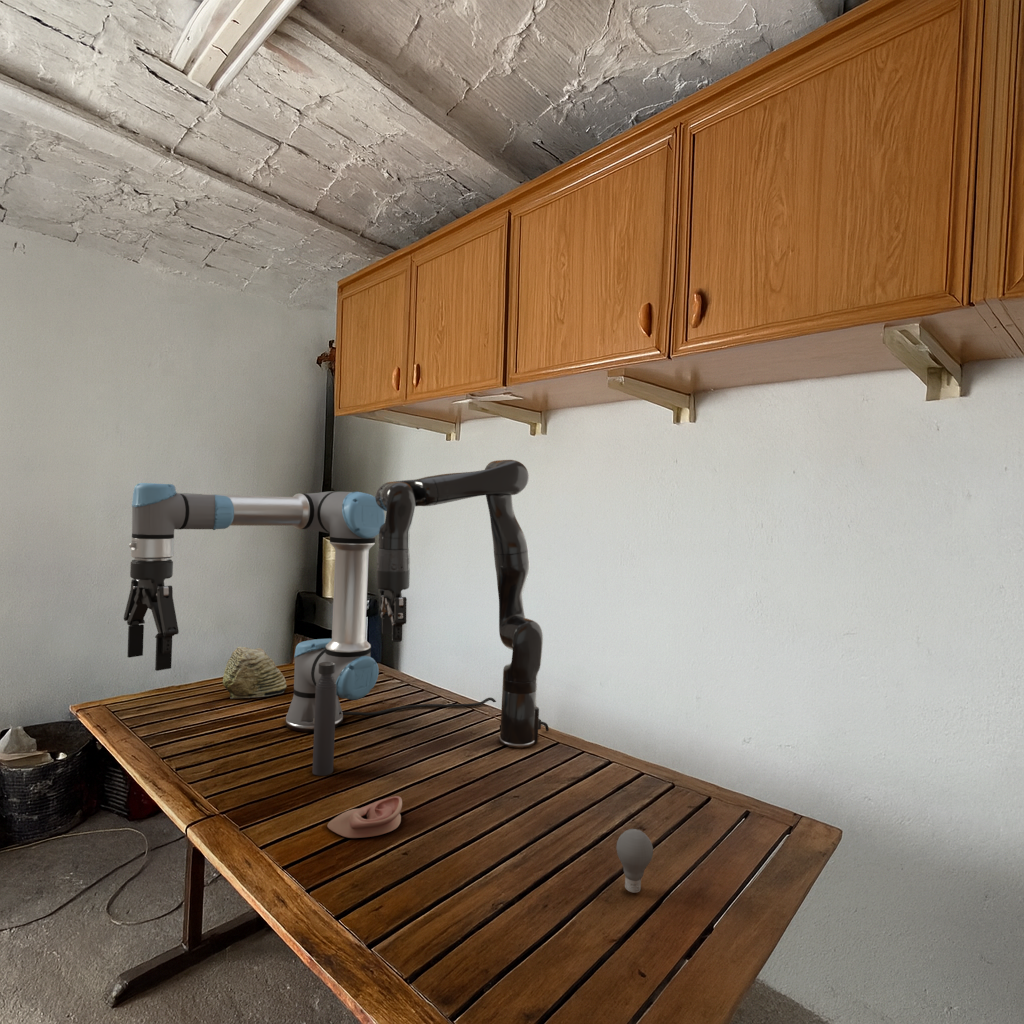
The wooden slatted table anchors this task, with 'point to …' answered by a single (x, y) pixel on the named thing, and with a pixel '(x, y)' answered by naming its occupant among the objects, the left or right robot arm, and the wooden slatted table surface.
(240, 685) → the fossil
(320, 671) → the cap
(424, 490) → the right robot arm
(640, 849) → the light bulb
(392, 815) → the anatomical model
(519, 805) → the wooden slatted table surface
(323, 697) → the bottle
